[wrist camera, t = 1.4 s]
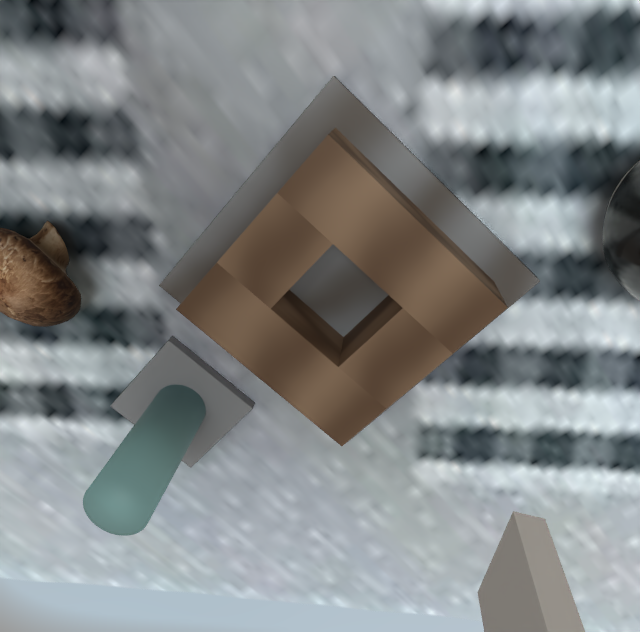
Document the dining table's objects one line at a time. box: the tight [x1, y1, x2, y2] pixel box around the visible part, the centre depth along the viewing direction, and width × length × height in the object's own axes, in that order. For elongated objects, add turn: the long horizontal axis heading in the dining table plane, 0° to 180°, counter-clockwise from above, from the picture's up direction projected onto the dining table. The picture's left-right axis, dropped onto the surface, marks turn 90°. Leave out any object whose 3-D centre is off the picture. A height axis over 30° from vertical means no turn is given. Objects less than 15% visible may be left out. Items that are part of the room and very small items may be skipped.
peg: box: [83, 385, 206, 535], centre depth 38 cm, size 4×4×11 cm
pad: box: [111, 336, 255, 467], centre depth 43 cm, size 8×8×1 cm
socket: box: [159, 76, 540, 446], centre depth 36 cm, size 18×18×5 cm
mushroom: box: [0, 221, 81, 327], centre depth 38 cm, size 8×8×6 cm
